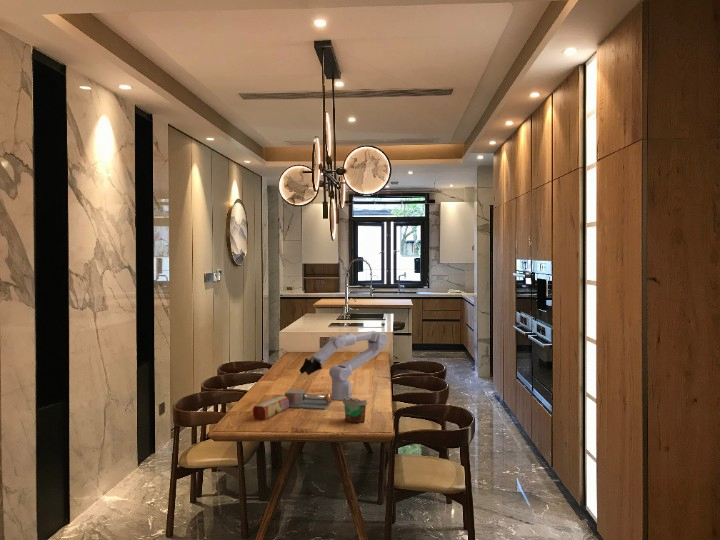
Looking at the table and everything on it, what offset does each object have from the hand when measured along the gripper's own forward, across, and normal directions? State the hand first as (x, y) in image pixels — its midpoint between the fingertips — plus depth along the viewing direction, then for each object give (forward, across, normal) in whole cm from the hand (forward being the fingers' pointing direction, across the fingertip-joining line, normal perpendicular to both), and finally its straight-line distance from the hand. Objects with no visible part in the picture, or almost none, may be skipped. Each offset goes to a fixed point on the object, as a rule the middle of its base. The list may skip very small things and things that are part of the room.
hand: (303, 372), depth 267 cm
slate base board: (+9, 0, +12) cm, 15 cm away
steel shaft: (+5, +3, +13) cm, 15 cm away
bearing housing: (+12, -3, +10) cm, 16 cm away
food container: (+6, +35, +18) cm, 40 cm away
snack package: (+25, +7, +2) cm, 26 cm away
